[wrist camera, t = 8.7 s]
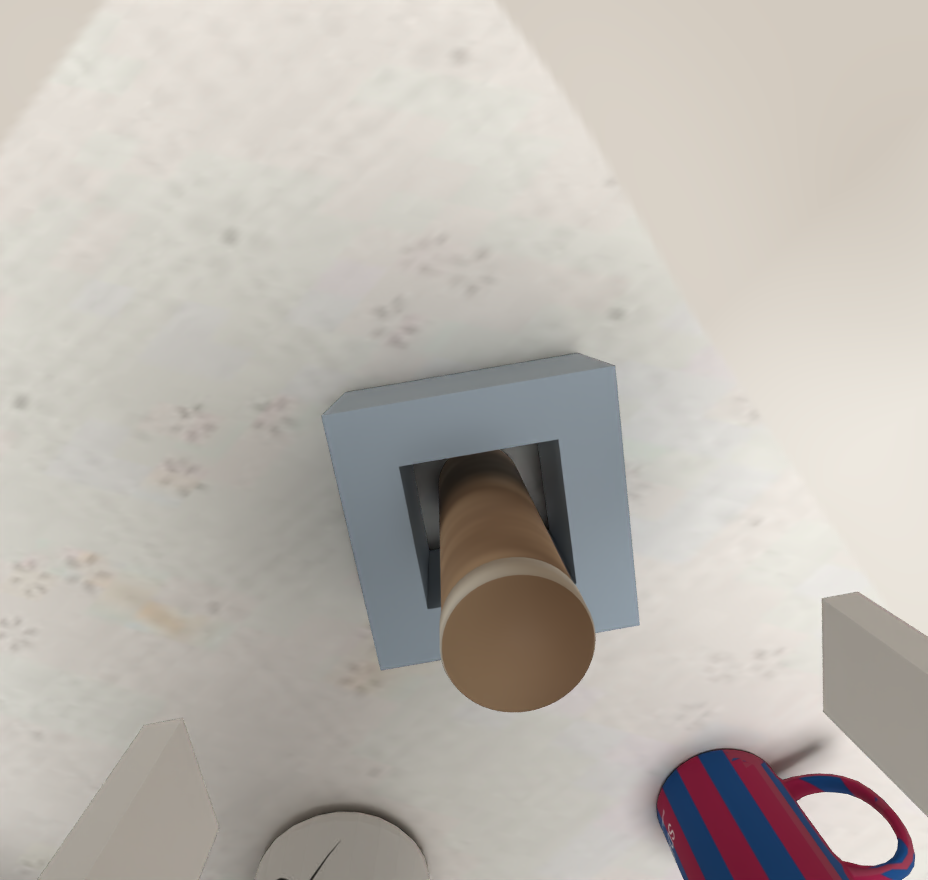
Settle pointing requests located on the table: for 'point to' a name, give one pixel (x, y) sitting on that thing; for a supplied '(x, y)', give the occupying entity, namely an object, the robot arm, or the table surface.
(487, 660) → the dowel
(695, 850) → the cup
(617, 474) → the socket block
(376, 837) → the mug
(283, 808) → the table surface
